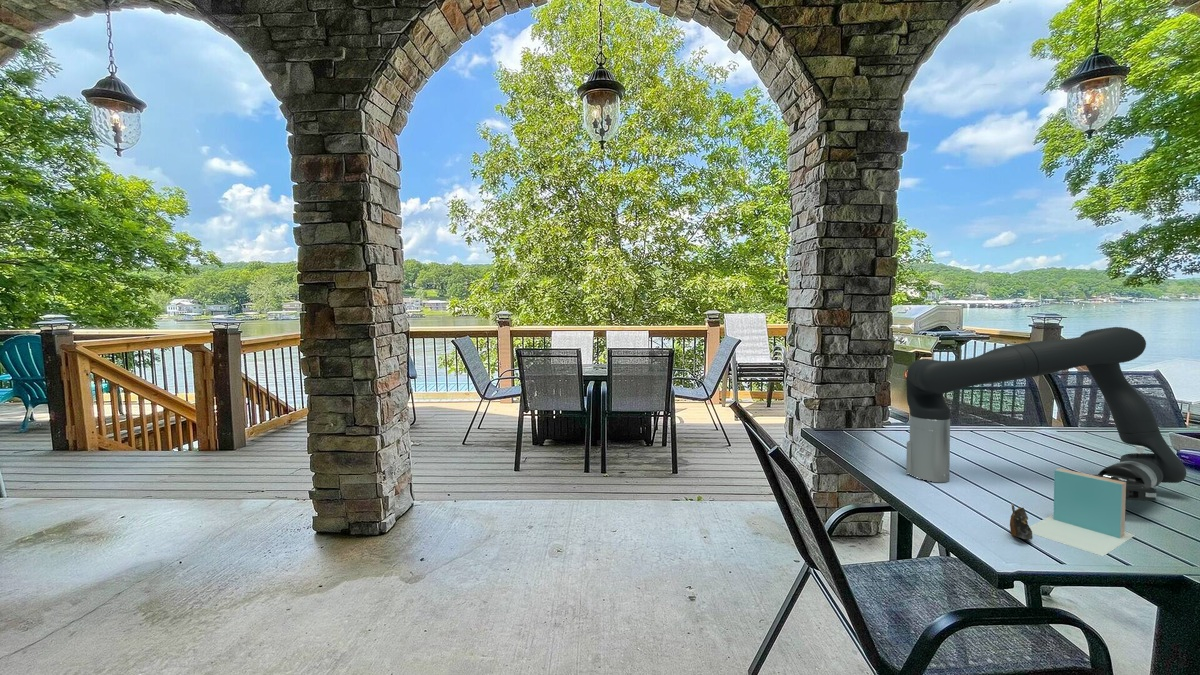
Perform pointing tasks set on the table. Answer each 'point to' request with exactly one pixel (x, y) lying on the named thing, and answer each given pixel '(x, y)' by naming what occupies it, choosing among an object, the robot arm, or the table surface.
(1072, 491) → the tile
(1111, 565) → the table surface
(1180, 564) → the table surface
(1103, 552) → the mat
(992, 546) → the table surface
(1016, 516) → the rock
